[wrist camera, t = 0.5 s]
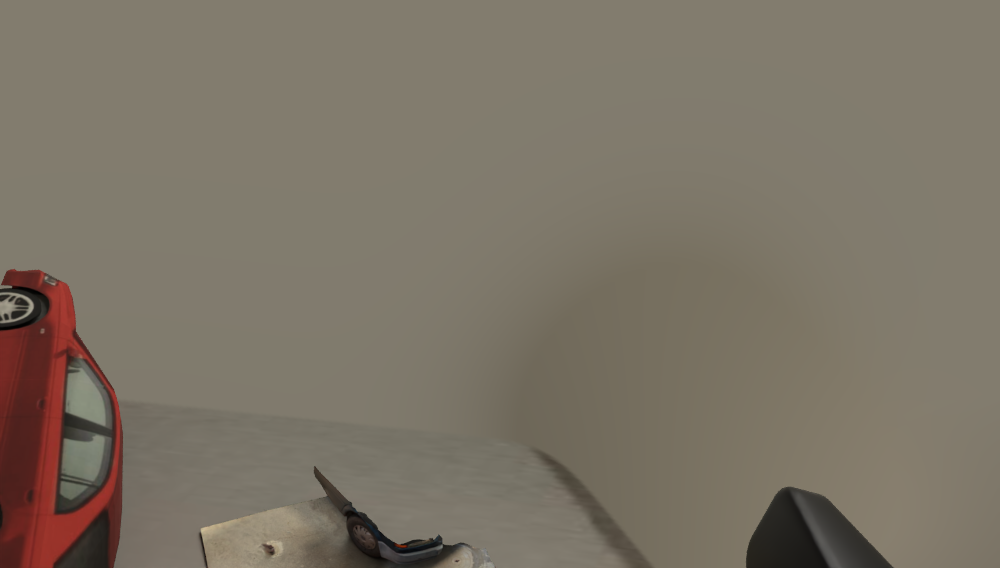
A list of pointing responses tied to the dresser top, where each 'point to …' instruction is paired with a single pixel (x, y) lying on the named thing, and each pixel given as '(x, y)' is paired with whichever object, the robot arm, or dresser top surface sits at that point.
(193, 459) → the dresser top surface
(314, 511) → the diorama
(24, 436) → the toy car
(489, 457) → the dresser top surface
